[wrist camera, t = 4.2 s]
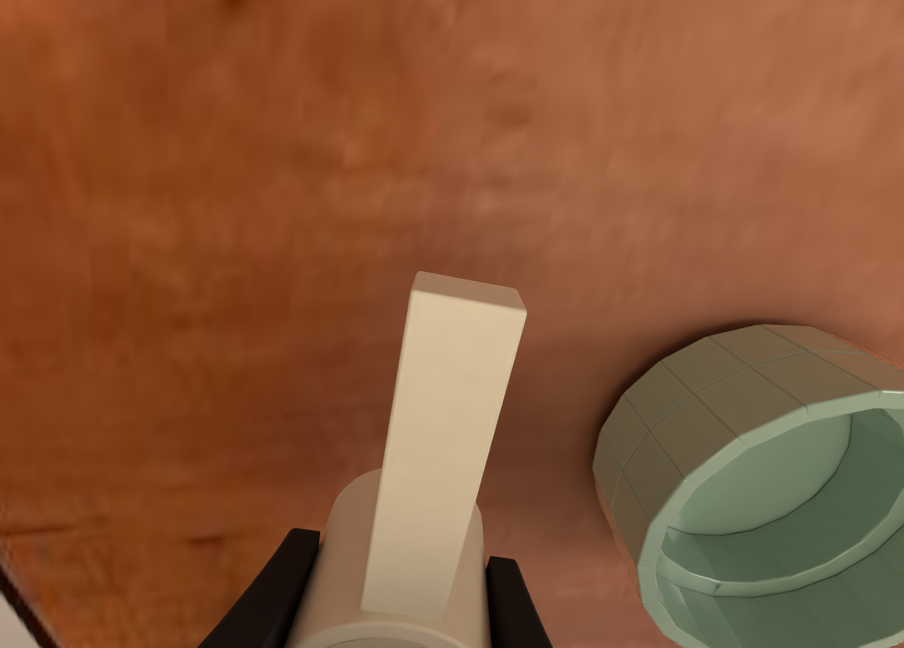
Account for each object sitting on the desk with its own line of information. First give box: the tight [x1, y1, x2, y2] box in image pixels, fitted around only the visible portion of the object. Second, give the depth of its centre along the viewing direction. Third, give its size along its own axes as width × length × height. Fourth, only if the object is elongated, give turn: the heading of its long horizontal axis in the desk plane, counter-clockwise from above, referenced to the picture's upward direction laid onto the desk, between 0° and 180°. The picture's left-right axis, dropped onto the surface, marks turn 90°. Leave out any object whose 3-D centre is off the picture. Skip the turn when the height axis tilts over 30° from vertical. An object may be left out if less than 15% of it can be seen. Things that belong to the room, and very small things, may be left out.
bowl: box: [592, 324, 904, 648], centre depth 13 cm, size 10×10×4 cm
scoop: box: [284, 271, 527, 648], centre depth 9 cm, size 10×4×4 cm, turn 169°
